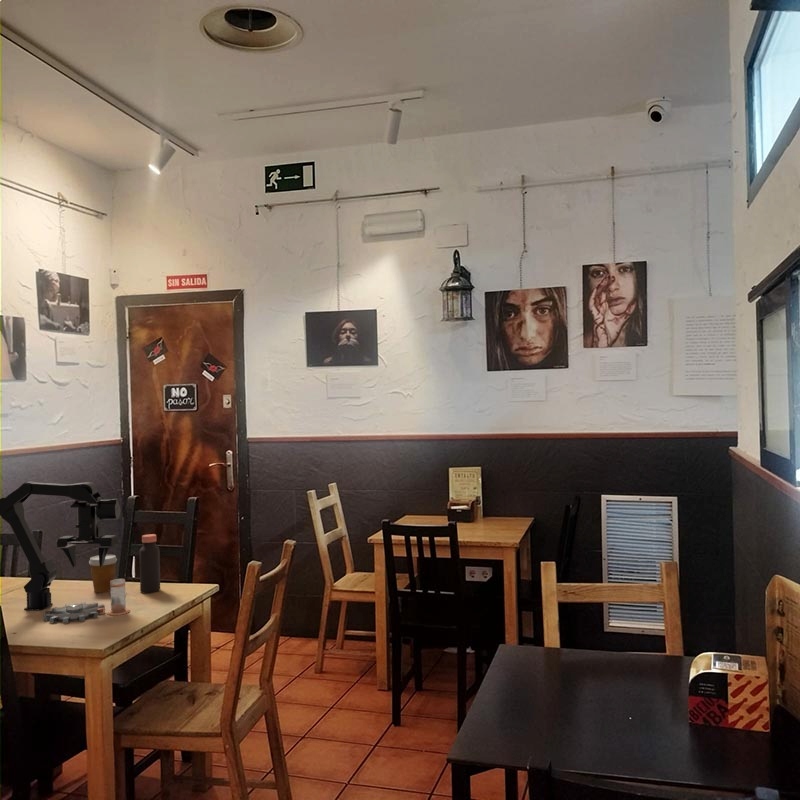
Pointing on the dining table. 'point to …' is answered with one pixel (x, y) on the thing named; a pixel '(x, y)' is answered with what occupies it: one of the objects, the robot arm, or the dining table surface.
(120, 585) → the pin
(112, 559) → the disposable coffee cup
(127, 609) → the seat pad
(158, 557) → the bottle
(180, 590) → the dining table surface
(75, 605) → the sprocket
